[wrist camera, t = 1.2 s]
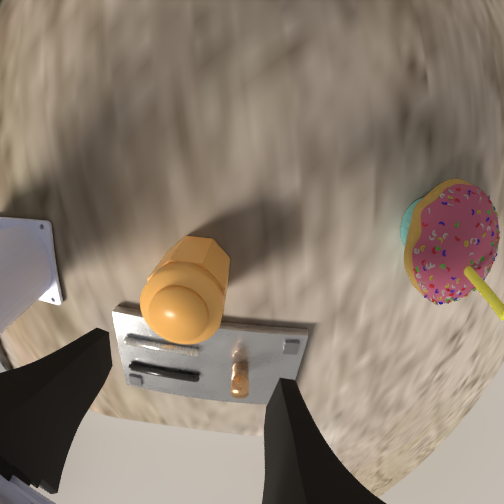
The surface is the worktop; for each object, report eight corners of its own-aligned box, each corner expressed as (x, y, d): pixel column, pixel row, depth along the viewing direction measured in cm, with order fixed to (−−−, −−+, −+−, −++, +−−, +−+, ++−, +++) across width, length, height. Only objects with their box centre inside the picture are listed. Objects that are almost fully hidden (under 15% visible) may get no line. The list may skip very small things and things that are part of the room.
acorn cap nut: (167, 290, 21) (140, 343, 15) (168, 233, 19) (133, 272, 13) (226, 298, 21) (218, 355, 15) (232, 240, 19) (223, 283, 13)
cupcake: (422, 289, 21) (503, 376, 10) (357, 242, 20) (452, 341, 8) (471, 210, 18) (572, 261, 7) (415, 149, 17) (545, 168, 6)
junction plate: (130, 377, 24) (117, 405, 21) (116, 305, 21) (97, 332, 18) (285, 397, 25) (289, 428, 21) (306, 328, 22) (315, 360, 18)
